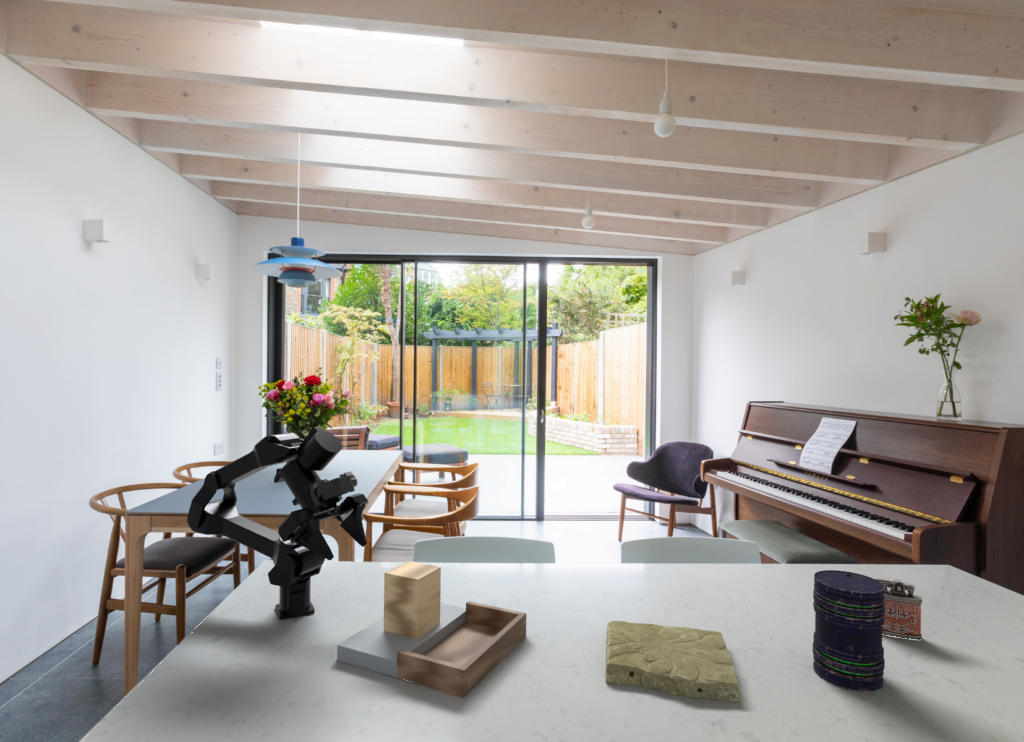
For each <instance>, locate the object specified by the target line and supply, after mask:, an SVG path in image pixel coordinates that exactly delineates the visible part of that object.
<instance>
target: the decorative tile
mask: <svg viewBox="0 0 1024 742" xmlns="http://www.w3.org/2000/svg"><path fill="white" fill-rule="evenodd" d="M605 644H606V646H605V650H606V651H605V653H606V654H605V655H606V656H605V682H606V683H608V684H611V685H618V686H629V685H630V686H636V687H642V688H645V689H649V690H655V691H656V690H657V691H662V692H664V693H668V694H670V695H672V696H673V695H674V696H684V697H686V698H695V699H707V700H716V701H719V700H720V701H724V702H732V703H741V696H740V689H739V683H738V679H737V677H736V673H735V669H734V667H733V663H732V659H731V655H730V652H729V651H728V648H727V645H726V641H725V639H724V637H723V633H722V632H721V631H717V630H706V629H700V628H692V627H687V626H673V625H660V624H654V623H644V622H643V623H641V622H640V623H636V622H628V621H625V620H611V621H609V622H607V627H606V642H605Z"/></svg>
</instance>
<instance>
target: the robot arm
mask: <svg viewBox="0 0 1024 742" xmlns="http://www.w3.org/2000/svg"><path fill="white" fill-rule="evenodd" d="M342 448H343V445H342V442H341V440H340V438H339V437H337V436H335V435H334V434H332V432H331V431H328V430H325V429H324V428H323V427H322V426H316V427H315V426H314V427H313V428H312V429H311V430H309V433H308V434H307V435H306V437H305V438H304V439H303V438H300V437H299V436H298V434H296V433H295V432H286V433H285V432H284V433H279V434H278V433H277V434H271V435H270V434H269V435H266V436H264V437H263V438H262V439H261V440H259V441H257V443H256V444H255V445H254V446H253V448H252V450H251V451H250V452H248V453H246V454H244V455H243V456H241V457H239V458H237V459H235V460H233V461H231V462H229V463H227V464H226V465H224V466H222V467H220V468H218V469H216V470H213V471H211V472H209V473H207V475H205V478H204V481H203V485H202V486H201V487H200V488H199V490H198V491H197V493H196V494H195V495H194V496H193V498H192V500H191V501H190V502H191V503H190V505H189V510H188V513H187V518H186V521H187V525H188V527H189V528H190V530H191V531H192V532H194V533H197V534H200V535H206V536H224V537H225V538H228V539H230V540H232V541H234V542H236V543H238V544H240V545H242V546H244V547H247V548H249V549H251V550H253V551H255V552H257V553H259V554H262V555H263V556H266V557H268V558H270V559H272V562H273V565H274V566H273V567H272V568H271V569H270V570H269V571H268V573H267V578H268V582H269V585H272V586H277V587H279V595H278V597H279V598H278V599H279V600H278V601H279V603H277V604H275V610H276V613H277V614H276V615H277V616H278V620H279V619H280V620H282V619H288V618H293V617H299V616H304V615H308V614H314V613H315V611H316V609H315V607H314V605H313V604H312V601H311V587H312V586H311V580H312V579H311V577H313V576H316V575H319V574H320V573H321V569H322V566H323V565H324V564H325V560H327V561H332V560H333V559H334V557H335V556H334V554H333V552H332V549H331V547H330V545H329V544H328V542H327V540H326V538H325V537H324V535H323V534H322V532H321V530H320V529H321V527H320V522H324V521H327V520H329V519H333V518H336V520H337V521H339V522H341V523H340V524H339V526H340V527H341V528H342V529H343V530H344V531H345V532H346V533H347V534H348V535H349V536H350V537H351V538H352V539H353V540H354V541H355V542H356V543H357V544H358V545H360V546H361V547H362V548H365V546H366V545H367V544H368V541H367V538H366V537H367V536H366V532H365V530H364V528H365V527H364V524H363V518H362V517H363V511H364V510H365V509H366V508H367V505H368V504H369V500H368V498H367V496H366V495H365V494H364V493H360V492H359V493H355V494H351V495H348V496H346V497H345V498H344V499H343V497H342V496H344V495H346V494H349V493H352V492H355V491H356V489H355V487H358V479H357V477H356V476H355V474H354V473H353V472H352V471H345V472H343V473H341V474H339V476H338V477H336V478H332V479H330V480H329V479H327V478H326V479H321V477H320V476H319V474H318V473H317V472H322V471H323V470H325V468H326V467H327V466H328V465H329V464H330V463H331V462H332V461H333V460H334V458H335V457H337V455H338V454H339V453H340V452H341V451H342ZM280 464H284V466H283V467H279V468H276V470H275V471H276V473H275V476H273V477H274V479H273V483H274V484H278V483H284V482H285V484H286V486H287V487H288V489H289V490H290V493H291V494H292V495H293V496H294V498H293V500H292V501H291V503H292V504H293V506H295V507H296V506H300V508H301V509H297V510H294V511H293V510H292V511H291V512H290V513H289V514H288V515H287V516H286V518H285V519H284V520H283V521H282V522H281V523H280V525H278V528H277V529H278V531H276V530H274V529H272V528H269V527H266V526H264V525H263V524H260V523H258V522H256V521H253V520H251V519H249V518H247V517H245V516H242V515H240V513H239V511H238V508H237V506H236V504H237V501H238V498H237V493H236V490H235V486H236V484H237V483H239V482H241V481H242V480H243V481H244V479H246V478H249V477H250V476H253V475H255V474H256V473H258V472H261V471H262V470H265V469H266V468H268V467H272V466H276V465H280ZM218 490H223V495H222V498H219V499H216V500H213V501H211V500H212V499H213V498H214V497H215V495H216V494H217V491H218ZM342 499H343V500H342ZM341 500H342V502H341V503H340V501H341ZM338 503H340V504H339V505H338Z"/></svg>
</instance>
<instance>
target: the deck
mask: <svg viewBox="0 0 1024 742" xmlns="http://www.w3.org/2000/svg"><path fill="white" fill-rule="evenodd" d="M465 622H466V607H461V606H456V605H452V604H447V603H444V602H440V624H438V625H437V626H435V627H434V628H433V629H431V630H430V631H428V632H427V633H426V634H424V635H423V636H421V637H420V638H419V639H414V638H410V637H406V636H402V635H398V634H394V633H390V632H387V631H384V616H383V617H381V618H379V619H378V620H376V621H375V622H373V623H371V624H369V625H368V626H366V627H365V628H363V629H362V630H359V631H358V632H356V633H355V634H353V635H351V636H350V637H348V638H346V639H345V640H343V641H342V642H340V643H338V644H337V645H336V648H337V649H336V651H337V652H336V653H337V654H336V660H337V661H338V662H342V663H346V664H349V665H353V666H354V667H355V666H356V667H358V666H359V668H362V667H363V668H362V669H365V668H367V669H366V670H368V669H370V670H369V671H372V672H375V671H376V673H378V672H380V673H379V674H382V673H383V675H385V674H387V675H386V676H388V675H391V676H390V677H392V676H394V677H393V678H395V677H397V652H398V651H399V650H401V649H402V650H406V651H409V652H413V653H417V654H420V655H423V654H424V653H426V652H427V651H428V650H430V649H431V648H432V647H434V646H435V645H436V644H437V643H439V642H440V641H441V640H443V639H444V638H445V637H447V636H448V635H449V634H450V633H452V632H453V631H454V630H456V629H457V628H458V627H460V626H461V625H462V624H463V623H465Z"/></svg>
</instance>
